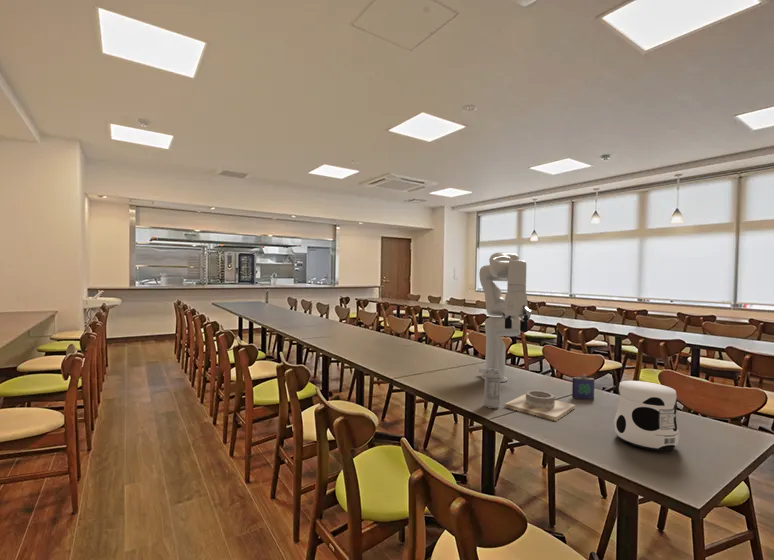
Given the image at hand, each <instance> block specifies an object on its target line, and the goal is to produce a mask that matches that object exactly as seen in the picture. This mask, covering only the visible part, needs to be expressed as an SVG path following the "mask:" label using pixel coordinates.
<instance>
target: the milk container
mask: <svg viewBox="0 0 774 560" xmlns="http://www.w3.org/2000/svg"><path fill="white" fill-rule="evenodd" d="M677 400H678V398H677V391H676V389H674V388H672V387H671V386H666V385H663V384H658V383H655V382H649V381H648V382H647V381H641V380H622V381H620V382H619V386H618V395H617V410H616V413H615V416H614V419H613V425H614V426H613V427H614V432H615V435H617V438H619V439H620V440H622V441H624V442H625V443H627V444H629V445H633V446H634V447H637V448H642V449H646V450H652V451H662V452H663V451H669V450H673V449H676V447H677V446H678V443H679V440H680V430H679V427H678V422H677V411H678V409H677V408H678V405H677V402H678V401H677Z"/></svg>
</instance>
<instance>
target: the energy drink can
mask: <svg viewBox="0 0 774 560" xmlns="http://www.w3.org/2000/svg"><path fill="white" fill-rule="evenodd" d="M500 378H501V374H500V372H499V369H497V368H487V370H486V372H485V380H484V390H483V393H484V395H483V404H484V407H486V408H487V407H488V409H491V408H496V409H498V408H499V407H500V405H501V403H500V402H501V382H500Z"/></svg>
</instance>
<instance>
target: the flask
mask: <svg viewBox="0 0 774 560" xmlns="http://www.w3.org/2000/svg"><path fill="white" fill-rule="evenodd" d="M571 384H572V386H571V387H572V390H571V392H572V393H571V397H572V399H573V398H575V399H574V400H580V399H594V400H595V378H593V377H587V375H586V374H585V373H584V374H582V376H575V377H574V376H573V377H572V383H571Z"/></svg>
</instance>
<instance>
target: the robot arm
mask: <svg viewBox="0 0 774 560" xmlns="http://www.w3.org/2000/svg"><path fill="white" fill-rule="evenodd" d="M488 260H489V264H485V265H483V266H482V267H481V268H479V271H478V272H479V273H478V274H479V275H478V277H479V282H480V285H481V287H482V290H483V291H484V292H483V293H484V300H485V301H484V302H485V308H486V313H487V315H488V316H490V317H487V318H486V319H485V322H484V328H485V329H484V330H485V342H486V343H485V365H484V366H485V368H483V367H479V369H478V373H481V374H482V375H481V378H482V379H483V380H484V381H485V372H486V370H487V368H497V369H499V372H500V374H501V378H500V383H505V382H507V381H508V377H507V376H506V375H505V374H506V373H505V372H506V343H505V342H504V340H503V338H502V337H517V336H519V335H520V334H521V332H527V331H528V322H529V321H530V318H531V315H532V312H533V311H532V310H531V309H529V307H528V296H527V262H526V260H522V259H520V257H519V255H518V254H517V253H516V252H515V253H514V252H494V253H493V254H491V255H490V257H489V259H488ZM495 282H507V289H506V290H507V291H506V293H505V296H504V297H502V296H503V295H502V289H500V287H499V286H498V285H497V283H495Z"/></svg>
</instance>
